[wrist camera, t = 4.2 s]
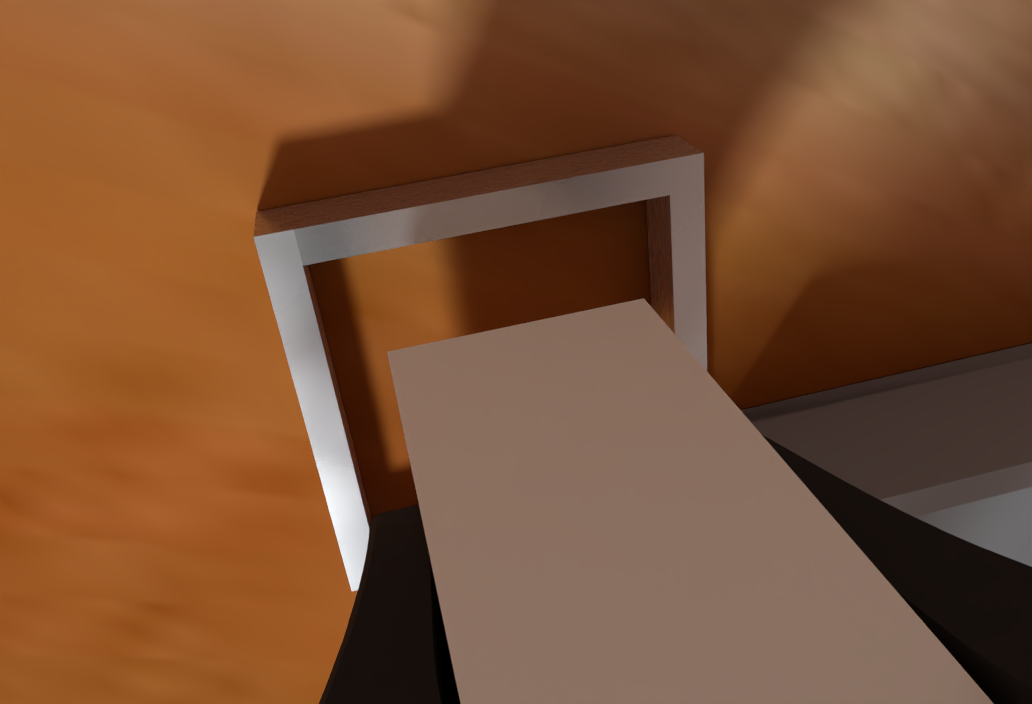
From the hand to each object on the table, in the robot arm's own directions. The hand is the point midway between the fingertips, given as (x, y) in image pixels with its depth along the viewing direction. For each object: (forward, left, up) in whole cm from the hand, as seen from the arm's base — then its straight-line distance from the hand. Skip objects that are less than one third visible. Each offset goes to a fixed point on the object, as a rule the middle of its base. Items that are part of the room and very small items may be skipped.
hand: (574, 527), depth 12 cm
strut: (0, 0, -2) cm, 2 cm away
